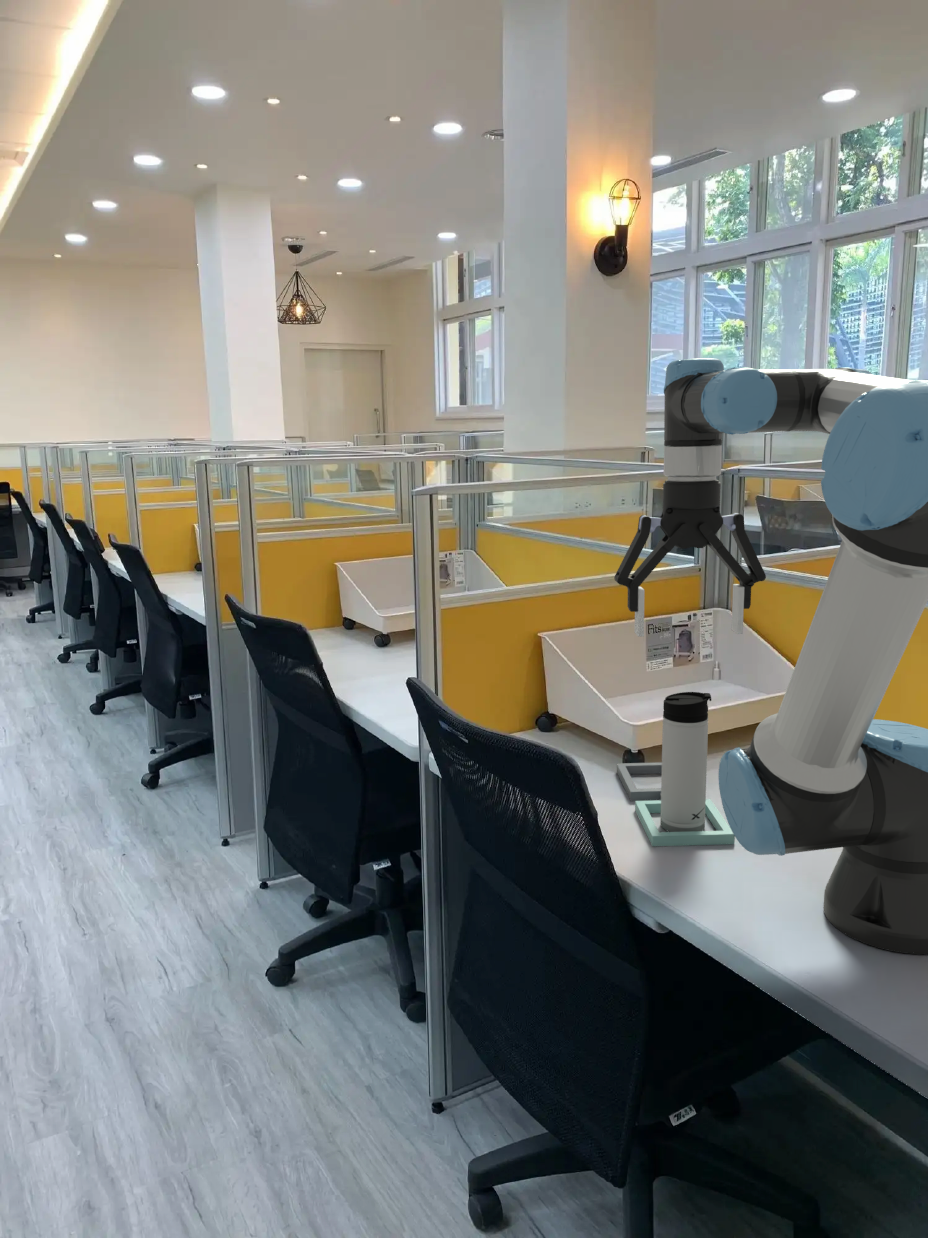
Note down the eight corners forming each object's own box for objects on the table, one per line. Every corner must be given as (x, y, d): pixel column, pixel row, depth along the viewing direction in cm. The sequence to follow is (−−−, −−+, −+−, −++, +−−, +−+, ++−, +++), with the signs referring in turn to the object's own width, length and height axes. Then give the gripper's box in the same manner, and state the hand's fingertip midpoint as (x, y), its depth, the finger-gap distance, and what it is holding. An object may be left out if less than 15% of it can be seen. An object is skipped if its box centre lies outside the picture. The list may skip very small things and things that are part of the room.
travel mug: (708, 837, 131) (712, 701, 127) (660, 834, 132) (663, 699, 128) (706, 819, 137) (710, 688, 133) (660, 816, 138) (663, 687, 134)
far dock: (710, 808, 140) (710, 799, 140) (635, 810, 140) (635, 801, 140) (684, 770, 156) (684, 761, 156) (616, 772, 156) (616, 763, 156)
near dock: (734, 844, 128) (734, 834, 128) (652, 846, 128) (652, 836, 128) (710, 808, 140) (710, 799, 140) (635, 810, 140) (635, 801, 140)
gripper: (775, 475, 128) (768, 625, 132) (594, 479, 128) (594, 629, 132) (794, 477, 121) (787, 636, 125) (603, 482, 120) (602, 641, 125)
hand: (688, 633), depth 128 cm, fingers open, 13 cm apart
